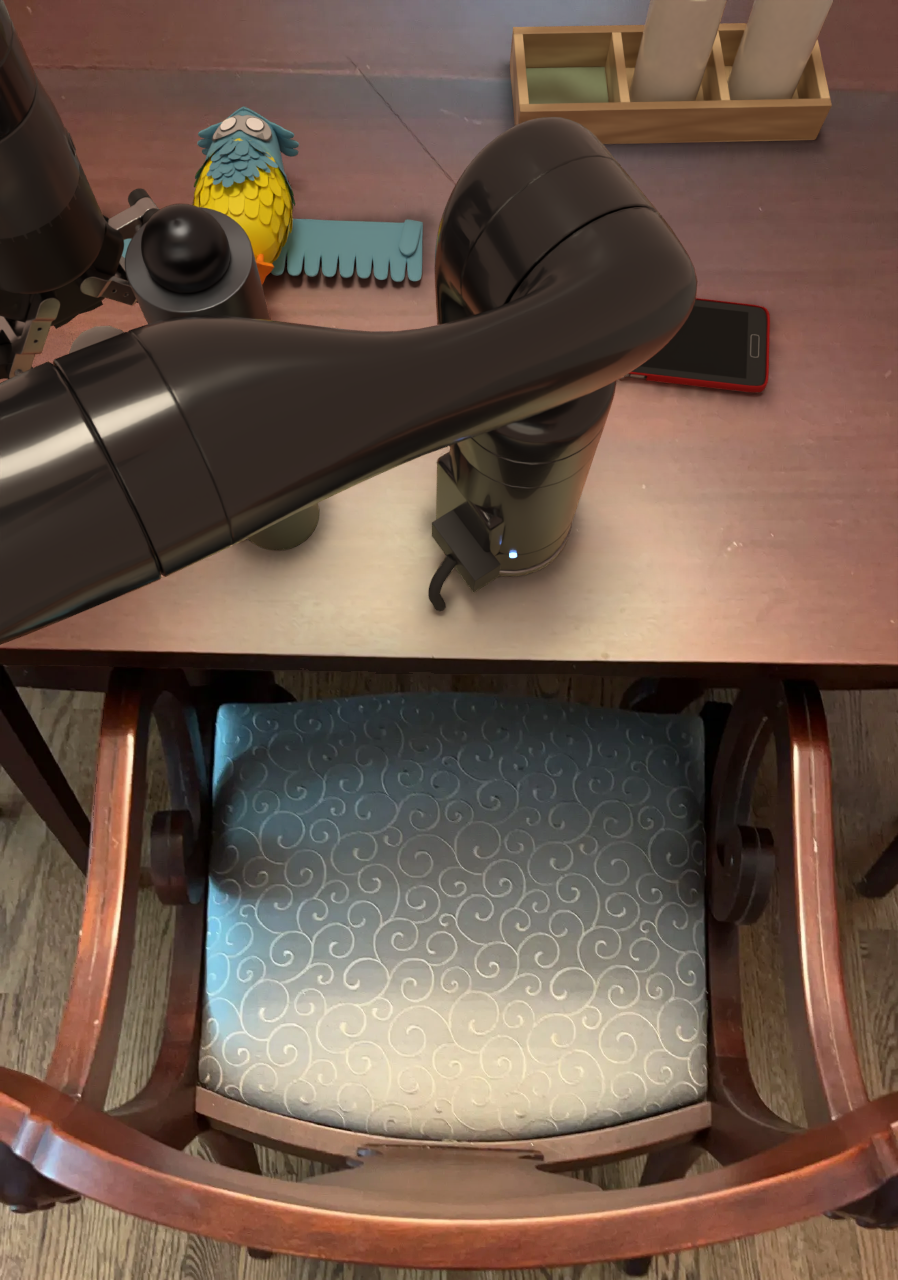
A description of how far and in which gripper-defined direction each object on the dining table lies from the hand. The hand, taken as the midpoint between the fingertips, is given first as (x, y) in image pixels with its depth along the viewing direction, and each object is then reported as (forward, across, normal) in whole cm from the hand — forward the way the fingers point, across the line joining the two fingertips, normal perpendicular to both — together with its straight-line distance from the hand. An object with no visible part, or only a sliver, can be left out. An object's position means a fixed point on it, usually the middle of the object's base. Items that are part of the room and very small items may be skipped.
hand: (104, 365), depth 62 cm
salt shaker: (+12, 0, 0) cm, 12 cm away
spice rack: (+11, -54, -5) cm, 55 cm away
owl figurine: (+11, -16, -12) cm, 23 cm away
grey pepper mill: (+11, -5, +10) cm, 16 cm away
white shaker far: (+10, -61, 0) cm, 62 cm away
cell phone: (+11, -39, +15) cm, 43 cm away
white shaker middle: (+10, -54, -5) cm, 55 cm away
